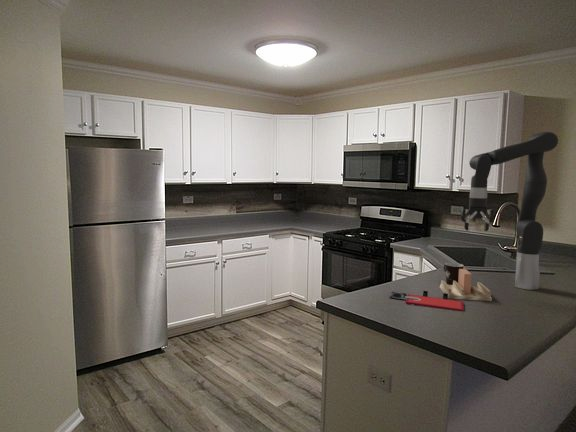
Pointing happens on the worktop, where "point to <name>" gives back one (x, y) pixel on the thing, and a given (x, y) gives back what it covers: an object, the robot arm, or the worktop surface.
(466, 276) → the tile
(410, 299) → the red board with handle
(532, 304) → the worktop surface
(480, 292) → the dish rack
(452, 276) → the coffee mug
